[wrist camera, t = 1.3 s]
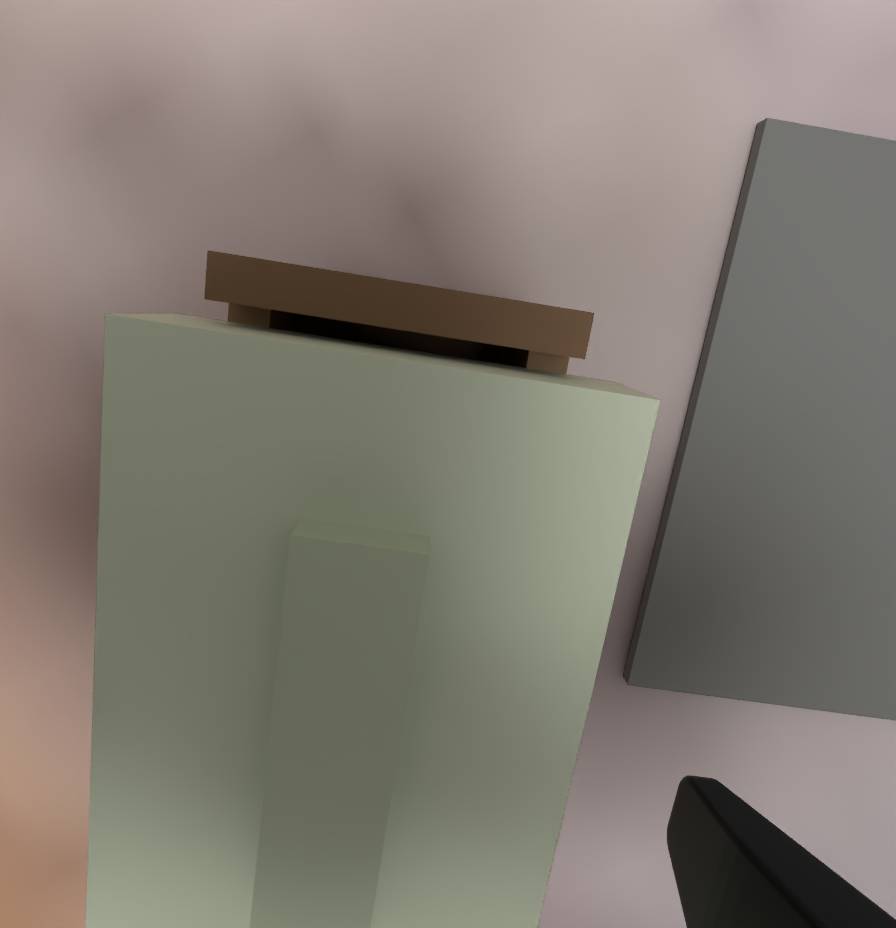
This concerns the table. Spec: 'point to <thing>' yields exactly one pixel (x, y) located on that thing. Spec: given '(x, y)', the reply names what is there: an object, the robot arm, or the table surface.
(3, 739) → the table surface
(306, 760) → the lid
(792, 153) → the slate mat
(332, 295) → the walnut box
